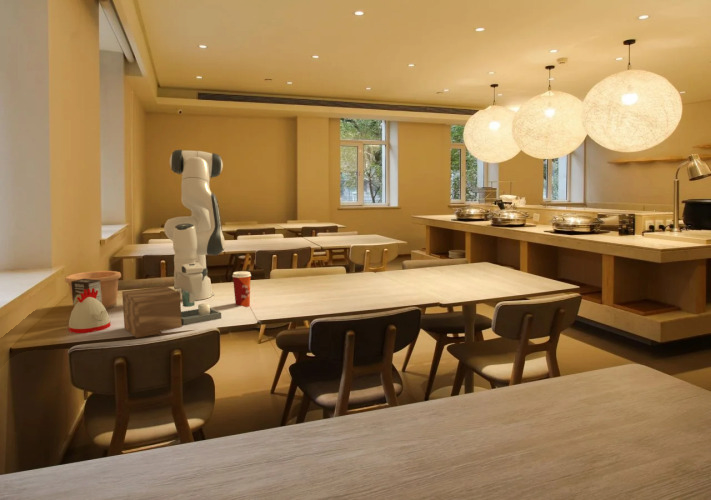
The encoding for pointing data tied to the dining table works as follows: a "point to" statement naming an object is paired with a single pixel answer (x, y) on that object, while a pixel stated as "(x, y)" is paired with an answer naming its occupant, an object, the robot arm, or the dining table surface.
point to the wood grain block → (151, 310)
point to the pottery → (107, 284)
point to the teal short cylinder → (186, 300)
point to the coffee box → (86, 284)
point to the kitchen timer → (88, 314)
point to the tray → (194, 317)
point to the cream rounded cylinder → (204, 309)
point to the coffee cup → (242, 288)
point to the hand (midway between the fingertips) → (188, 301)
